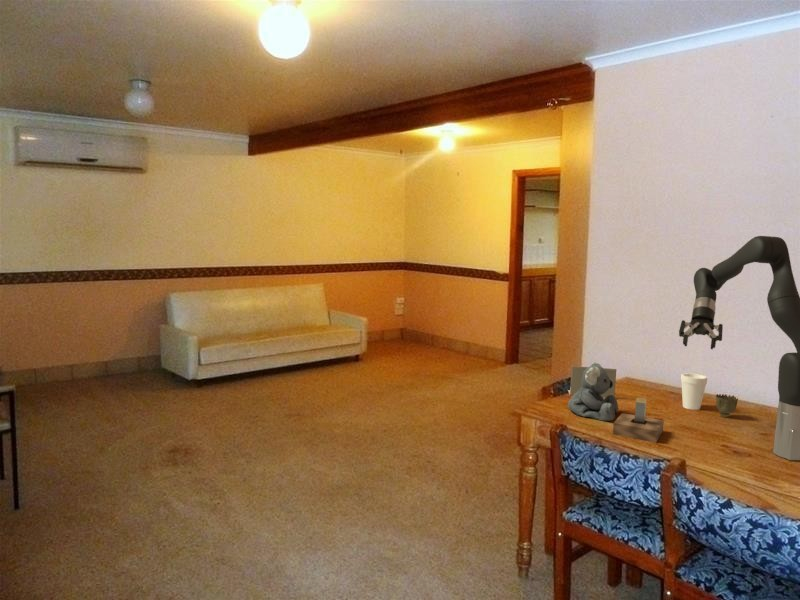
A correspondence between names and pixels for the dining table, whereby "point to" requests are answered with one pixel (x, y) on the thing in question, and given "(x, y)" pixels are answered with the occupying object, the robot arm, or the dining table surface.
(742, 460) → the dining table surface
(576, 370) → the grey box
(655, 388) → the dining table surface
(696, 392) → the foam cup
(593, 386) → the koala plush
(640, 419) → the blue-grey rectangular block
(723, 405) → the cup
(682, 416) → the dining table surface
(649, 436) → the flat wooden box
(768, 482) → the dining table surface
